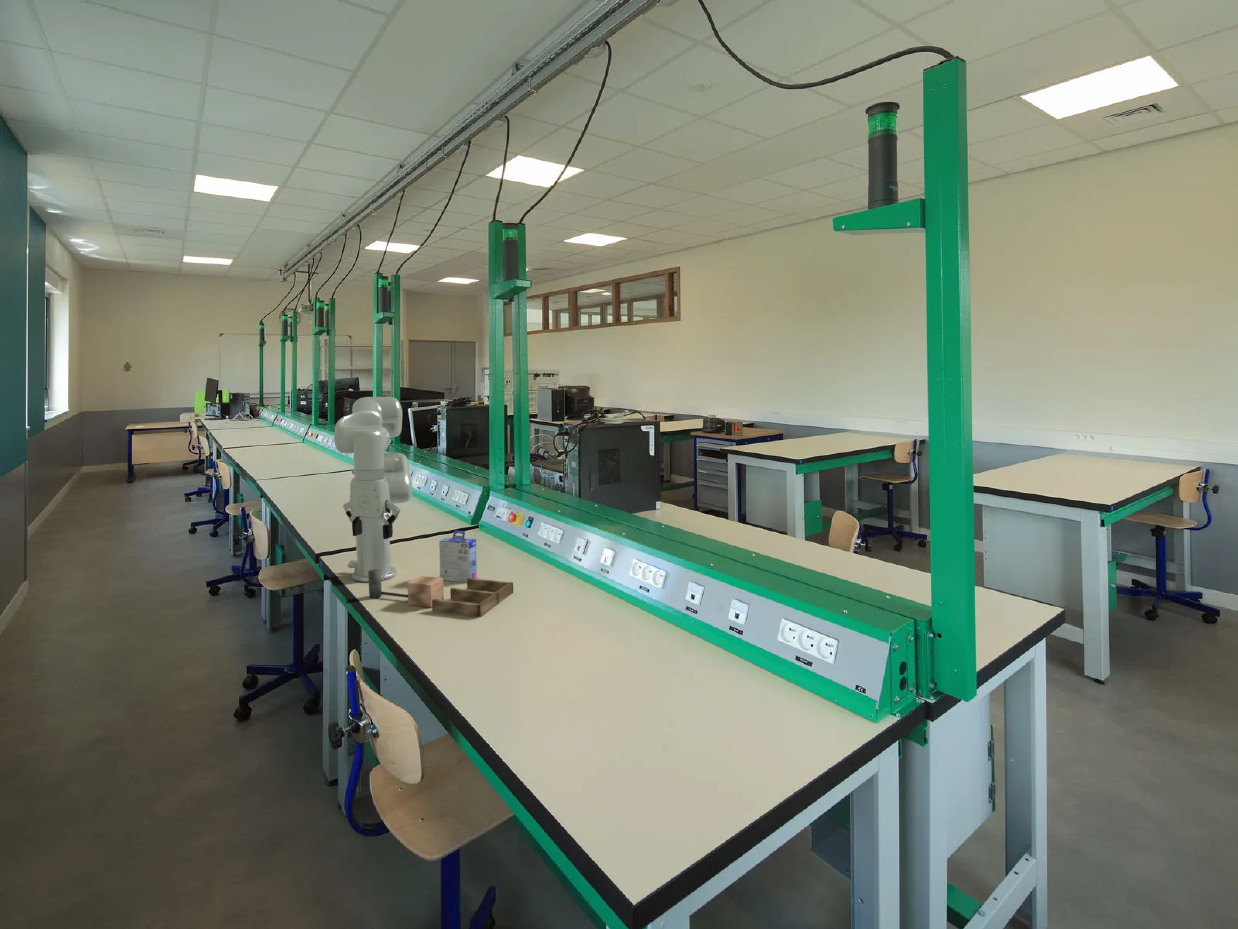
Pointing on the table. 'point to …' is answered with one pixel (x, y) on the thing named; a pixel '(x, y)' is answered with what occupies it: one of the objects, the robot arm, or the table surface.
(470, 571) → the ink cartridge box
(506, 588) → the tray
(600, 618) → the table surface
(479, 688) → the table surface
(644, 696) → the table surface
